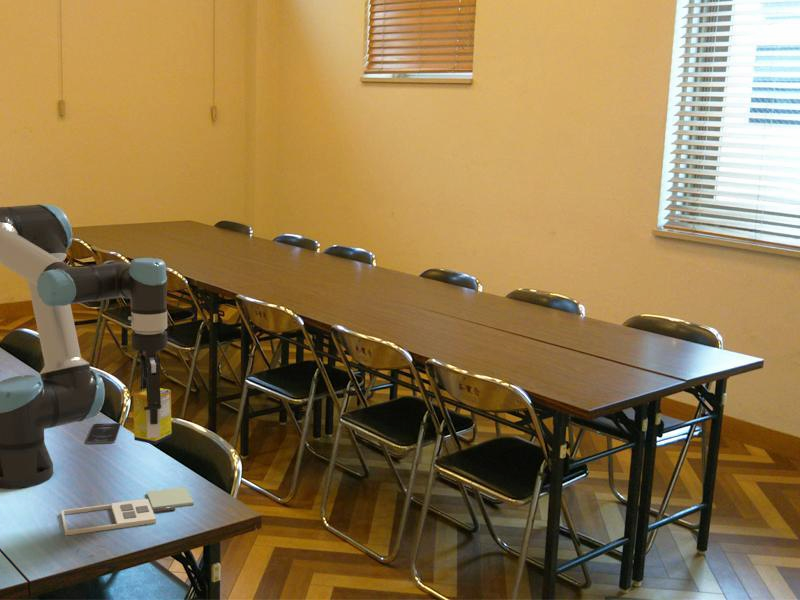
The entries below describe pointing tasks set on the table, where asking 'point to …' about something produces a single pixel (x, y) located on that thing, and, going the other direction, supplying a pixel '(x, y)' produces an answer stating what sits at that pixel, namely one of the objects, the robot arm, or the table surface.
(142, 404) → the supplement box
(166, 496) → the mat
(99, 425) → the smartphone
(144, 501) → the white rectangular frame panel
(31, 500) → the table surface
